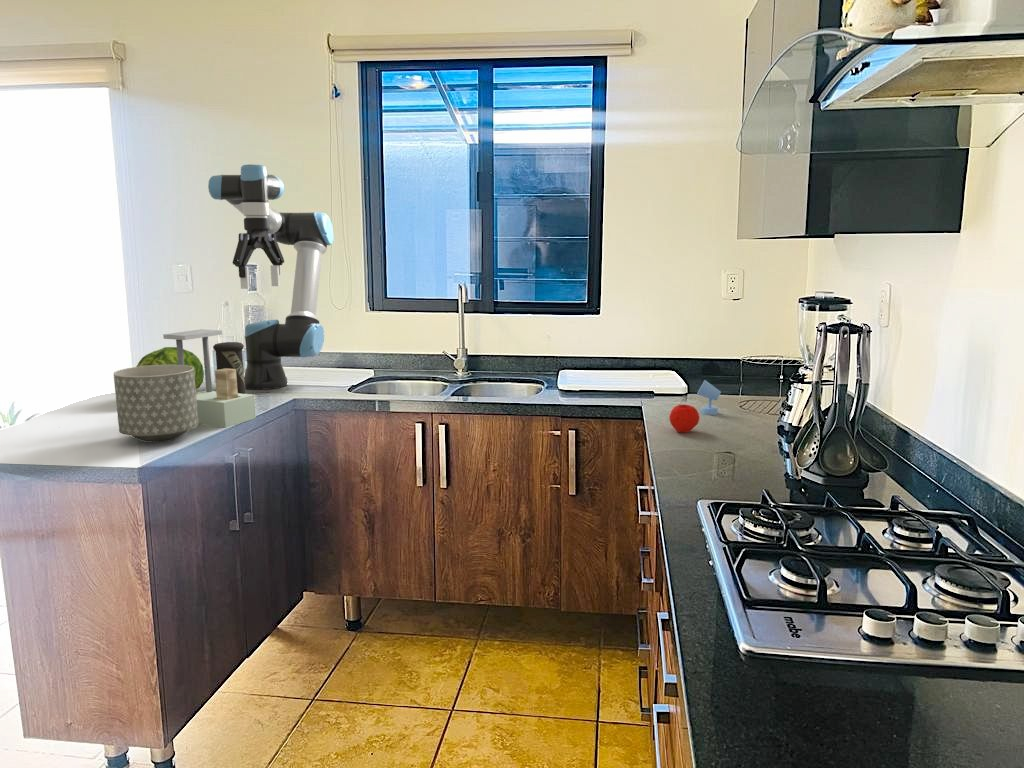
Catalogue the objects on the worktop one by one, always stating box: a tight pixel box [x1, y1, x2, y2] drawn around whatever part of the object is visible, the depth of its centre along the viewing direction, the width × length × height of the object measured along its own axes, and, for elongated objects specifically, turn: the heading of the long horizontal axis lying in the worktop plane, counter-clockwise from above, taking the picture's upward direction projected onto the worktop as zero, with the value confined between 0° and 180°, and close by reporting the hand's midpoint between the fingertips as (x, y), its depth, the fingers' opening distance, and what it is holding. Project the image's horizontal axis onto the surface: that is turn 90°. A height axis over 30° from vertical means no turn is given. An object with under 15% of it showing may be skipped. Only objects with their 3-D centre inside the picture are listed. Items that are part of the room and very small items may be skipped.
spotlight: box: [696, 379, 722, 416], centre depth 230 cm, size 5×10×7 cm
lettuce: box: [135, 346, 205, 390], centre depth 251 cm, size 18×23×19 cm
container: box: [212, 341, 247, 394], centre depth 244 cm, size 9×9×20 cm
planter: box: [113, 365, 199, 443], centre depth 203 cm, size 19×19×18 cm
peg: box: [214, 368, 238, 400], centre depth 222 cm, size 4×4×14 cm
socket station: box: [162, 328, 257, 428], centre depth 224 cm, size 20×14×25 cm
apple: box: [668, 404, 700, 434], centre depth 208 cm, size 8×8×7 cm
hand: (260, 287), depth 241 cm, fingers open, 13 cm apart
